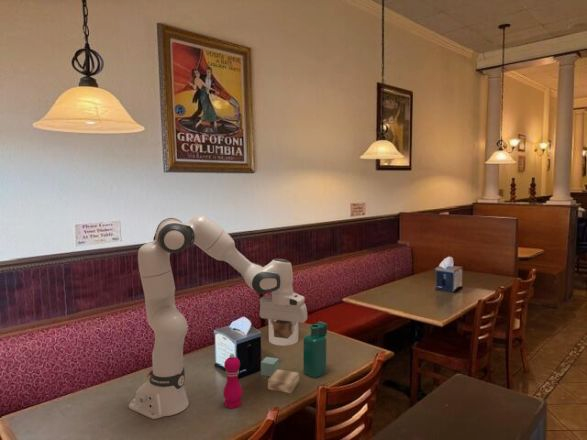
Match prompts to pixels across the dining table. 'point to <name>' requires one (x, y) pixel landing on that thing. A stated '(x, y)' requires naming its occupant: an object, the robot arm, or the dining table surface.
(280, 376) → the maple base
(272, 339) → the canister
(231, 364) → the pepper mill
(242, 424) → the dining table surface
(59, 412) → the dining table surface
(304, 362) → the green water bottle
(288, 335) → the walnut block
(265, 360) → the teal block
